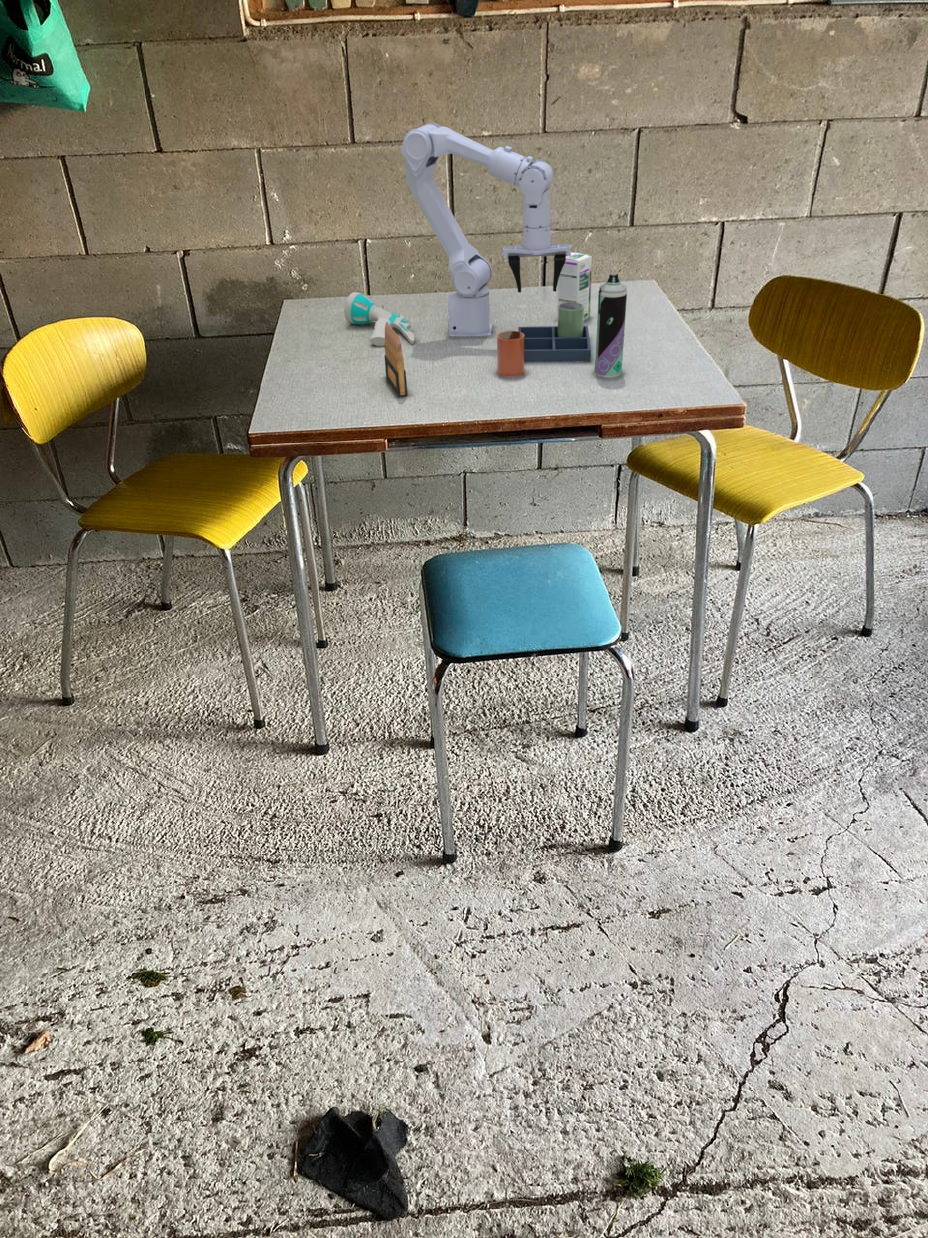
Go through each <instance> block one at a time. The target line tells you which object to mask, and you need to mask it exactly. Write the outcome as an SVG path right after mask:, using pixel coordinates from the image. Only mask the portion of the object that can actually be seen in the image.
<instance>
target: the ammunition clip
mask: <svg viewBox="0 0 928 1238" xmlns="http://www.w3.org/2000/svg"><path fill="white" fill-rule="evenodd" d="M384 369H385V380H386V381H387V382H388V384H389V385H390V387H391V388H392V389H393V391H394V393H395V394H396V395H397V397H398V398H401V397H408V384H407V383H408V382H407V371H406V369H405V359H404V355H403V348H402V341H401V339H400V337H399V335H398V334H397V332H396V331H395V330H394V329H393V327H390V325H389V324H388V322H386V324H385V346H384Z"/></svg>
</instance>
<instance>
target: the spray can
mask: <svg viewBox="0 0 928 1238" xmlns="http://www.w3.org/2000/svg"><path fill="white" fill-rule="evenodd" d="M627 297H628V288H627V286H626V284H623V283H622V282H621V280H620V279H619V274H616V273H615V274H608V278H607V280H605V282H604V283H603V284H601V285H599V288H598V298H597V315H596V316H597V318H596V337H595V339H596V340H595V355H594V356H595V358H594V359H595V360H594V374H595V375H596V376H599V377H602V378H615V377H618V376H620V375H622V372H623V361H624V358H623V357H624V345H625V344H624V343H625V329H626V328H625V327H626V326H625V325H626V313H627Z"/></svg>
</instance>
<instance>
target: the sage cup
mask: <svg viewBox="0 0 928 1238" xmlns="http://www.w3.org/2000/svg"><path fill="white" fill-rule="evenodd" d="M557 307H558V310H557V311H558V319H557V326H558V330H557V338H559V337H583V326H584V322H585V321H584V305H583V304H580V303H574V302H568V303H562V304H560V305H559V306H558V305H557Z"/></svg>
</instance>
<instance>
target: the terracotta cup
mask: <svg viewBox="0 0 928 1238" xmlns="http://www.w3.org/2000/svg"><path fill="white" fill-rule="evenodd" d="M524 353H525V335H524V334H523V333H521V332H518V330H505V331H502V332H499V333H497V334H496V360H497V361H496V366H497V367H496V369H497V371H496V373H497V374H498V375H500V376H503V377H511V378H512V377H518V376H521V375H523V374H524V373H525V362H524Z"/></svg>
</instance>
